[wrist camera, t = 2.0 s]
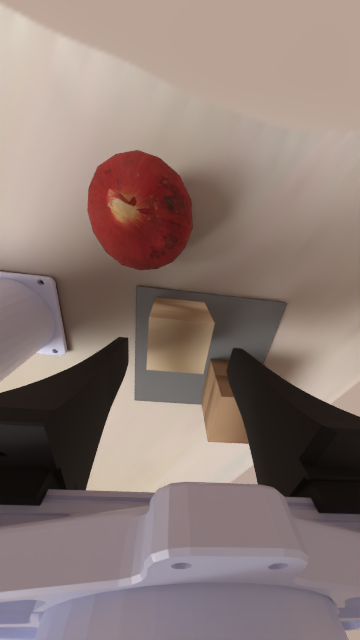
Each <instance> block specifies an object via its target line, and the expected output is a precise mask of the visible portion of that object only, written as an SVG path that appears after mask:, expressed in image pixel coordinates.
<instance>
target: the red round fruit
mask: <svg viewBox="0 0 360 640" xmlns="http://www.w3.org/2000/svg"><path fill="white" fill-rule="evenodd" d="M88 214H89V218H90V221H91V225H92V229H93V232H94V234H95V235H96V237H97V239H98V240H99V242H100V243H101V245H102V246H103V248H104V249H105V251H106V252H107V253H108V254H109V255H111V256H112V257H113V258H114V259H116V260H117V261H118V262H119V263H121V264H122V265H124V266H127V267H131V268H134V269H138V270H149V269H158V268H160V267H162V266H164V265H167V264H169V263H171V262H173V261H174V260H175V259H176V258H177V256H178V255H179V254H180V253H181V252H182V251H183V250H184V248H185V247H186V244H187V241H188V239H189V236H190V233H191V230H192V228H193V226H192V203H191V199H190V197H189V194H188V192H187V190H186V188H185V186H184V184H183V181H182V179H181V177H180V175H178V174H177V173H176V172H175V171H174V170H173V169H172V168H171V167H169V166H168V165H167V164H166V163H165V162H164V161H163V160H162V159H160V158H159V157H156V156H153V155H150V154H147V153H144V152H141V151H138V150H136V151H130V152H125V153H119V154H115V155H114V156H113V157H111V158H110V159H108V160H107V161H105V162H104V163H102V164H101V165H99V166H98V167H97V170H96V172H95V174H94V177H93V179H92V181H91V184H90V186H89V192H88Z"/></svg>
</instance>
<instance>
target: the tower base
mask: <svg viewBox="0 0 360 640" xmlns="http://www.w3.org/2000/svg"><path fill="white" fill-rule="evenodd" d="M228 363H229V360H219V359H210V362H209V366H208V370H207V375H206V379H205V383H204V387H203V392H202V396H201V403H202V409H203V415H204V416H205V412H206V408H207V404H208V400H209V396H210V393H211V389H212V385H213V381H214V377H215V375H221V376H227V372H226V370H227V367H228ZM262 364H263V365H264V363H262ZM264 366H265V365H264Z"/></svg>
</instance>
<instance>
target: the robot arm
mask: <svg viewBox="0 0 360 640" xmlns="http://www.w3.org/2000/svg"><path fill="white" fill-rule="evenodd" d="M41 280H42V281H43V282H44V284H42V283H41ZM55 349H56V350H57V351H56V350H55ZM66 352H67V346H66V340H65V334H64V329H63V323H62V317H61V312H60V306H59V300H58V295H57V289H56V283H55V281H54V280H53V279H52V278H51V277H47V276H38V275H29V274H20V273H11V272H2V271H0V382H1V381H2V380H3V379H4V378H6V377H7V376H8V375H9V374H11V373H12V372H13V371H14V370H15V369H17V368H18V367H19V366H20V365H22V364H23V363H24V362H25V361H27V360H28V359H29V358H30V357H32V356H33V355H34V354H35V353H38V354H51V355H65V354H66ZM127 366H128V338H123V337H119V338H117V339H116V340H114V341H113V342H111V343H110V344H109V345H107V346H106V347H104V348H103V349H102V350H100V351H99V352H97V353H95V354H94V355H92V356H91V357H89V358H87V359H86V360H84V361H82V362H80V363H78V364H77V365H75V366H73V367H71V368H69V369H66V370H64V371H62V372H60V373H57V374H55V375H53V376H50V377H48V378H45V379H43V380H40V381H37V382H34V383H31V384H28V385H26V386H22V387H19V388H16V389H13V390H9V391H6V392H2V393H0V639H5V640H348V637H347V635H346V632H345V631H352V630H360V417H359V416H356V415H354V414H351V413H349V412H346V411H344V410H341V409H339V408H337V407H335V406H332V405H330V404H328V403H326V402H324V401H322V400H320V399H318V398H316V397H314V396H312V395H310V394H308V393H306V392H304V391H302V390H301V389H299V388H297V387H295V386H294V385H292V384H291V383H289V382H287V381H286V380H284V379H283V378H281V377H280V376H278V375H277V374H275V373H274V372H272V371H271V370H270V369H268V368H267V367H266V366H264V365H263V364H262V363H260V362H259V361H258V360H257V359H255V358H254V357H253V356H251V355H250V354H249V353H247V352H246V351H245V350H243V349H242V348H233V350H232V353H231V356H230V360H229V363H228V367H227V370H226V372H227V377H228V381H229V385H230V387H231V390H232V393H233V396H234V398H235V401H236V403H237V406H238V409H239V411H240V414H241V417H242V420H243V423H244V427H245V430H246V434H247V438H248V442H249V446H250V450H251V454H252V459H253V463H254V468H255V472H256V477H257V482H258V484H231V483H204V482H180V483H171V484H169V485H166V486H164V487H162V488H159V489H158V490H157V491H156V492H155V493H148V492H118V491H87V490H86V487H87V483H88V479H89V476H90V472H91V469H92V465H93V462H94V458H95V455H96V452H97V448H98V445H99V442H100V438H101V435H102V432H103V429H104V426H105V423H106V420H107V417H108V414H109V411H110V408H111V406H112V404H113V401H114V399H115V397H116V395H117V392H118V390H119V388H120V385H121V383H122V381H123V379H124V376H125V373H126V370H127Z"/></svg>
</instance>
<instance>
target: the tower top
mask: <svg viewBox="0 0 360 640" xmlns="http://www.w3.org/2000/svg"><path fill="white" fill-rule="evenodd" d="M204 421H205V427H206V433H207V439H208V442H224V443H245V444H249V442H248V438H247V434H246V430H245V427H244V423H243V420H242V417H241V414H240V411H239V409H238V406H237V403H236V401H235V398H234V396H233V393H232V390H231V387H230V385H229V381H228V377H227V376H221V375H215V377H214V381H213V385H212V389H211V393H210V396H209V400H208V404H207V408H206V412H205V416H204Z"/></svg>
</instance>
